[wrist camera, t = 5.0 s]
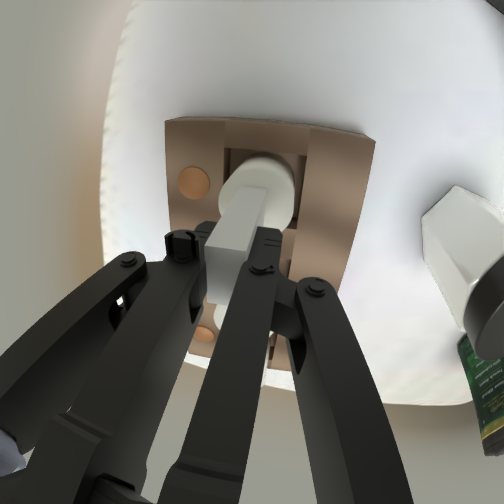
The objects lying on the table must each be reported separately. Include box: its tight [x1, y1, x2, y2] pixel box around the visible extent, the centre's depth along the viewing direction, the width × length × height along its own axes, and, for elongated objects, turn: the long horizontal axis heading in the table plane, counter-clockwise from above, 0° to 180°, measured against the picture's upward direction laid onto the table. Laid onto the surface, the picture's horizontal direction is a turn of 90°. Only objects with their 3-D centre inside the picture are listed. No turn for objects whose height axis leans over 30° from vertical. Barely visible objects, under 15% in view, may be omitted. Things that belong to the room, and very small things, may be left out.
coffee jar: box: [458, 335, 504, 456], centre depth 18 cm, size 10×8×19 cm
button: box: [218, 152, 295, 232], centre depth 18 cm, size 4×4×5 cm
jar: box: [421, 185, 504, 361], centre depth 15 cm, size 9×8×12 cm
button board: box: [165, 117, 376, 371], centre depth 24 cm, size 25×14×3 cm, turn 176°
